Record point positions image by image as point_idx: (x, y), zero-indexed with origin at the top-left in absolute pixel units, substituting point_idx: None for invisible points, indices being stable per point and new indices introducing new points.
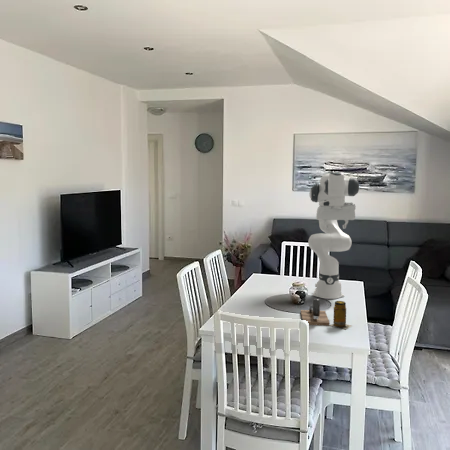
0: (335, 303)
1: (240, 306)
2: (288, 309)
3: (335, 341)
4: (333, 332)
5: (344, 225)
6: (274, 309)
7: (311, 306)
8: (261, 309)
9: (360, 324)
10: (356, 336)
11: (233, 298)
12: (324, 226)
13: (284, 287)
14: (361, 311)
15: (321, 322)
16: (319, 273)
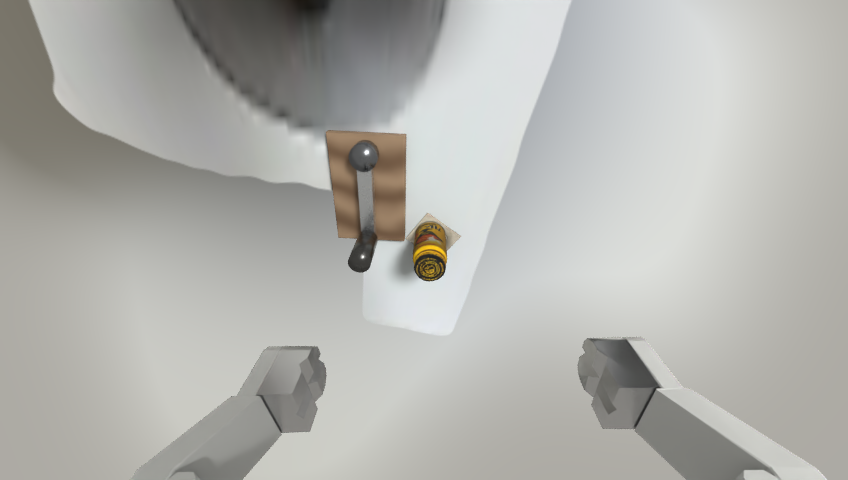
0: (415, 272)
1: (103, 61)
2: (283, 92)
3: (404, 314)
4: (407, 275)
5: (620, 425)
6: (236, 95)
7: (355, 168)
8: (192, 98)
9: (485, 225)
10: (451, 293)
11: None
12: None
13: None
14: (535, 101)
15: (384, 239)
16: None
